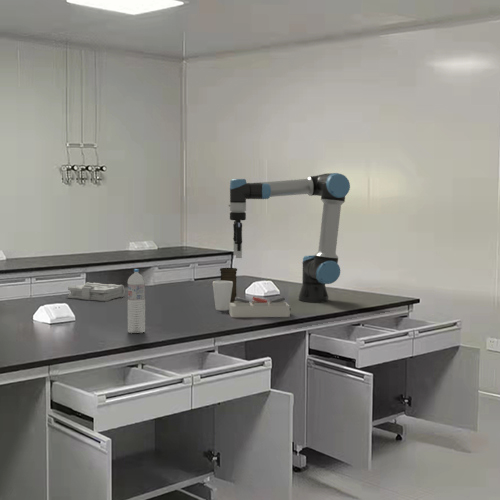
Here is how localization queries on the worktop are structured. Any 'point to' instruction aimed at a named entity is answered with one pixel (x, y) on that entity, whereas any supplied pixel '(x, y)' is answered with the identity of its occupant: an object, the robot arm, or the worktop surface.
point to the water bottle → (136, 303)
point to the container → (230, 279)
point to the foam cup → (222, 294)
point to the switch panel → (259, 309)
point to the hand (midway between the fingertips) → (237, 256)
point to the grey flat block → (96, 291)
